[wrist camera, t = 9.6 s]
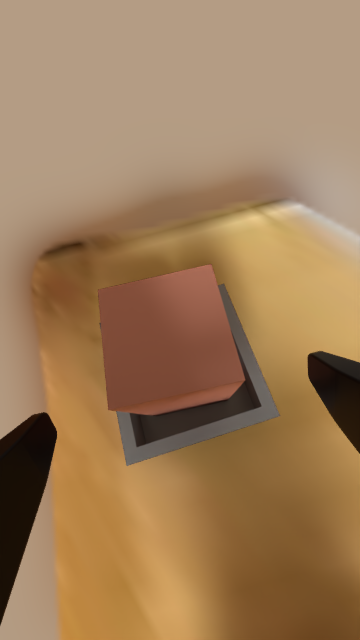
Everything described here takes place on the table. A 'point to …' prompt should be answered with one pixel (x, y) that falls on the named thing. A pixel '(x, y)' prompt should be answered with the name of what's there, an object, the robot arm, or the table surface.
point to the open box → (202, 408)
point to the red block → (167, 344)
